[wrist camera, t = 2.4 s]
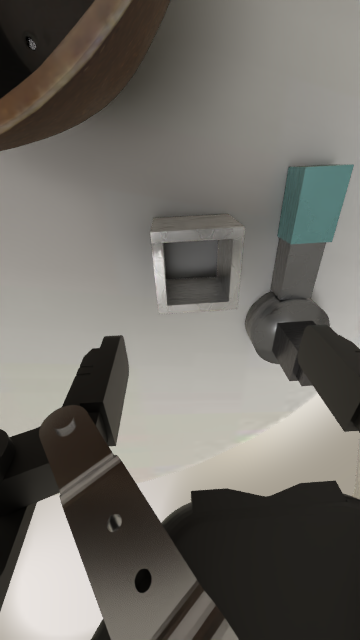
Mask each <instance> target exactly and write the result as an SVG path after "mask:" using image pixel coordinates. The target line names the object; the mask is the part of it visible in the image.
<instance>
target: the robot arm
mask: <svg viewBox="0 0 360 640" xmlns="http://www.w3.org/2000/svg"><path fill="white" fill-rule="evenodd" d="M298 363H299V365H300V367H301V369H302V370H303V372H304V373H305V375H306V376H307V378H308V379H309V381H310V382H311V383H312V385H313V386H314V388H315V389H316V391H317V392H318V394H319V395H320V396H321V398H322V399H323V401H324V402H325V404H326V405H327V407H328V408H329V410H330V411H331V413H332V414H333V416H334V417H335V419H336V420H337V421H338V423H339V424H340V426H341V427H342V429H343V430H344V431H345V432H346V431H359V432H360V349H359V348H358V347H357V346H356V345H355V344H354V343H353V342H351V341H349V340H347V339H345V338H344V337H342V336H340V335H338V334H337V333H335V332H334V331H333V330H332V329H331V328H330V327H329V326H328V325H310V326H307V327H306V328H305V330H304V333H303V337H302V340H301V344H300V347H299V351H298ZM76 375H77V376H75V378H74V381H73V383H72V385H71V388H70V390H69V392H68V394H67V397H66V399H65V401H64V404H63V406H62V408H59V409H57V410H56V411H54V412H53V413H51V414H50V415H49V416H48V417H47V418H46V419H45V420H44V421H43V423H42V425H41V426H40V427H38V428H36V429H33V430H30V431H27V432H24V433H21V434H18V435H15V436H12V437H9V436H8V435H7V433H6V432H5V431H3V430H1V429H0V611H1V607H2V604H3V601H4V599H5V596H6V593H7V590H8V587H9V584H10V580H11V578H12V575H13V572H14V569H15V566H16V563H17V560H18V557H19V554H20V551H21V548H22V545H23V542H24V539H25V536H26V533H27V530H28V527H29V524H30V521H31V518H32V515H33V512H34V509H35V506H36V503H37V502H38V501H40V500H43V499H45V498H48V497H50V496H52V495H55V494H57V493H60V494H61V495H60V500H61V504H62V507H63V509H64V512H65V515H66V518H67V520H68V523H69V526H70V529H71V531H72V534H73V537H74V539H75V542H76V545H77V548H78V550H79V553H80V556H81V559H82V562H83V564H84V567H85V570H86V572H87V575H88V578H89V581H90V583H91V586H92V589H93V592H94V594H95V597H96V600H97V603H98V605H99V608H100V611H101V614H102V616H103V620H102V622H101V623H100V625H99V627H98V628H97V630H96V632H95V634H94V635H93V637H92V639H91V640H360V439H359V444H358V457H357V471H356V484H355V489H354V493H353V495H352V496H349V495H346V494H343V493H342V492H341V490H340V488H339V486H338V484H337V483H336V481H325V482H311V483H300V484H298V485H295V486H293V487H290V488H288V489H286V490H283V491H281V492H279V493H276V494H274V495H272V496H267V497H265V496H259V495H254V494H250V493H245V492H241V491H236V490H231V489H213V490H199V491H191V503H188V504H186V505H184V506H182V507H180V508H179V509H177V510H175V511H174V512H173V513H172V514H170V515H169V516H168V517H167V518H166V519H165V520H164V521H163V522H162V523H161V522H160V521H159V519H158V518H157V516H156V515H155V513H154V511H153V510H152V508H151V507H150V505H149V503H148V502H147V500H146V499H145V497H144V495H143V494H142V493H141V491H140V490H139V488H138V486H137V484H136V483H135V481H134V480H133V478H132V477H131V475H130V473H129V472H128V470H127V469H126V467H125V466H124V464H123V462H122V461H121V459H120V458H119V457H118V456H117V455H114V454H113V453H112V451H111V450H110V448H109V447H108V446H116V442H117V437H118V431H119V426H120V420H121V415H122V409H123V404H124V398H125V393H126V387H127V382H128V376H129V364H128V358H127V353H126V348H125V342H124V338H123V336H122V335H120V336H105V337H104V338H103V341H102V344H101V346H100V348H95V349H92V350H91V351H90V352H88V353H87V354H86V355H85V356H84V358H83V360H82V363H81V365H80V368H79V369H78V372H77V374H76Z"/></svg>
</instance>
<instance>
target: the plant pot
mask: <svg viewBox="0 0 360 640" xmlns="http://www.w3.org/2000/svg"><path fill="white" fill-rule="evenodd" d="M169 2H170V0H0V151H2V150H7V149H11V148H15V147H19V146H22V145H26V144H29V143H32V142H35V141H39V140H42V139H45V138H48V137H50V136H53V135H56V134H58V133H61V132H63V131H66V130H68V129H70V128H72V127H74V126H76V125H78V124H80V123H81V122H83V121H85V120H86V119H88V118H90V117H91V116H93V115H94V114H96V113H97V112H99V111H100V110H101V109H103V108H104V107H105V106H106V105H108V104H109V103H110V102H111V101H112V100H113V99H114V98H115V97H116V96H117V95H118V94H119V93H120V91H121V90H122V89H123V88H124V87H125V86H126V85H127V83H128V82H129V80H130V79H131V78H132V76H133V75H134V73H135V72H136V70H137V68H138V67H139V65H140V63H141V62H142V60H143V58H144V56H145V54H146V52H147V50H148V49H149V47H150V45H151V43H152V40H153V38H154V36H155V34H156V32H157V30H158V28H159V26H160V24H161V21H162V19H163V17H164V15H165V12H166V10H167V7H168V5H169ZM27 36H30V37H31V38H32V40H33V41H34V42H35V44H36V49H35V50H32V49H30V48H29V47H28V45H27V41H26V40H25V39H26V37H27Z"/></svg>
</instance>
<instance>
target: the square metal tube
mask: <svg viewBox="0 0 360 640" xmlns="http://www.w3.org/2000/svg"><path fill="white" fill-rule="evenodd" d="M244 233H245V226H243V225H242V224H241V223H239V222H238V221H237V220H235V219H234V218H233V217H231V216H230V215H229V214H215V215H197V216H180V217H162V218H153V221H152V226H151V230H150V236H151V246H152V255H153V265H154V274H155V284H156V293H157V303H158V312H159V314H173V313H188V312H203V311H218V310H233V309H237V307H238V297H239V286H240V276H241V265H242V254H243V244H244ZM204 240H218V254H217V276H212V277H196V278H180V279H167V277H166V264H165V251H164V243H170V242H187V241H204Z"/></svg>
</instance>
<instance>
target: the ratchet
mask: <svg viewBox="0 0 360 640" xmlns="http://www.w3.org/2000/svg"><path fill="white" fill-rule="evenodd" d="M353 166H354V165H318V166H298V167H289V169H288V175H287V181H286V187H285V193H284V199H283V205H282V211H281V217H280V223H279V229H278V235H277V236H278V237H279V243H278V249H277V255H276V261H275V267H274V272H273V278H272V284H271V290H272V292H269V293H267V294H265V295H264V296H262V297H261V298H259V299H258V300H257V301H256V302H255V303H254V304H253V305H252V307H251V308H250V310H249V312H248V314H247V316H246V321H245V327H246V331H247V333H248V336H249V338H250V340H251V342H252V344H253V346H254V348H255V350H256V352H257V353H258V355H259V356H260V357H261V358H262V359H264V360H266V361H268V362H271V363H275V364H280V365H281V367H282V369H283V371H284V372H285V374H286V376H287V378H288V379H289V381H299V382H300V384H301V386H310V385H312V383H311V382H310V381H309V379H308V378H307V376H306V375H305V373H304V372H303V370H302V369H301V367H300V365H299V363H298V351H299V347H300V344H301V340H302V337H303V333H304V330H305V328H306V327H307V326H310V325H328V326H329V327H330V324H329V318H328V316H327V314H326V313H325V312H324V311H323V310H322V309H321V308H320V307H319V306H318V305H317V304H316V303H315V302H314V301H312V300H311V299H310V298H311V295H312V292H313V288H314V284H315V281H316V277H317V273H318V270H319V266H320V262H321V259H322V255H323V251H324V248H325V244H326V242H332V240H333V236H334V233H335V229H336V226H337V222H338V219H339V215H340V212H341V208H342V205H343V201H344V198H345V194H346V191H347V187H348V184H349V180H350V177H351V173H352V170H353Z"/></svg>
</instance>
